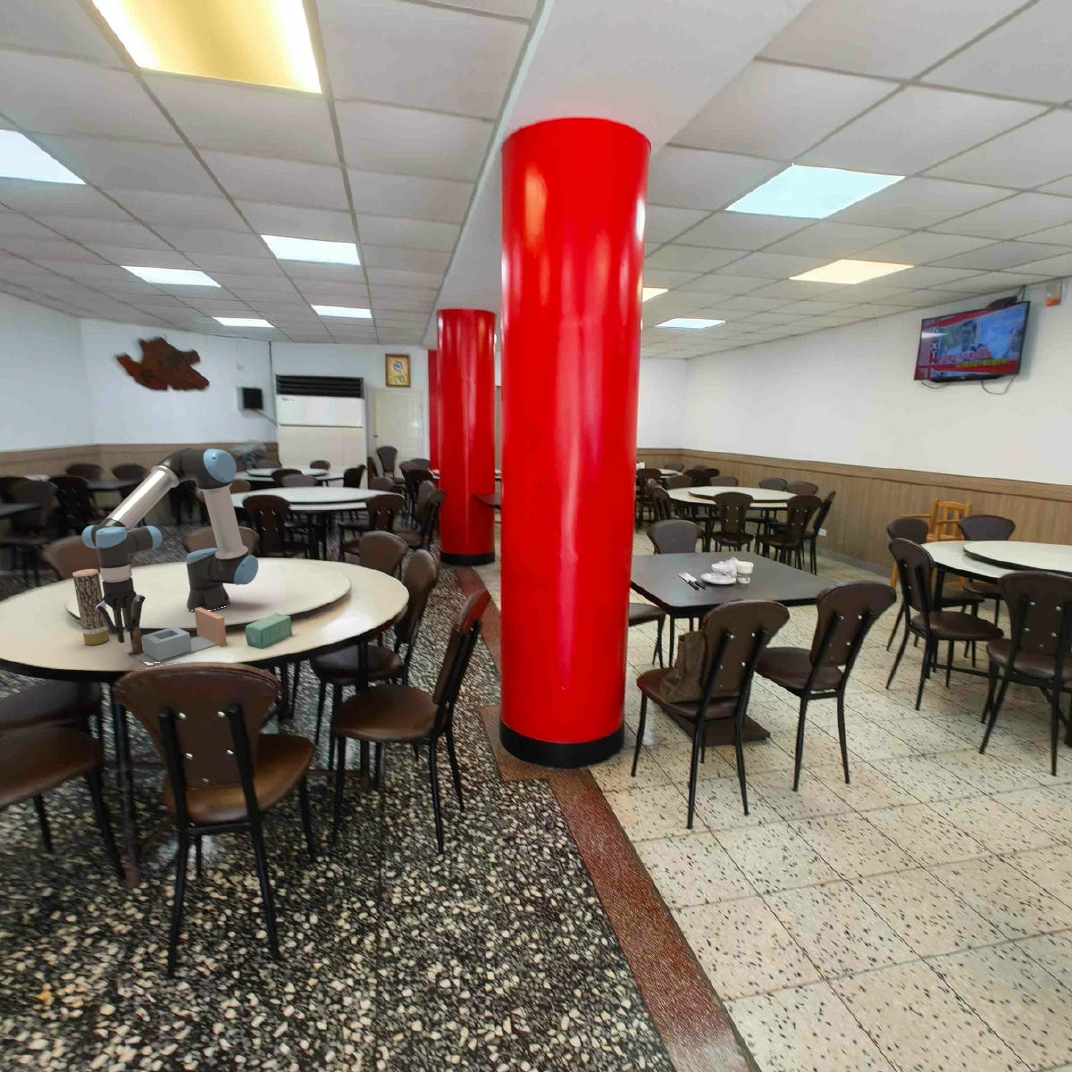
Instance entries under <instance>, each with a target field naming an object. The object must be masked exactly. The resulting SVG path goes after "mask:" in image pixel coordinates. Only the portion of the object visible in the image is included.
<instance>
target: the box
mask: <svg viewBox="0 0 1072 1072" xmlns="http://www.w3.org/2000/svg"><path fill="white" fill-rule="evenodd" d="M244 629H245V639H246V644H247V646H250V647H254V648H259V649H265V648H267V647H270V646H272V645H274V644H276V643H279V642H280V641H282V640H285V639H286V638H288V637H290V636H292V635H293V631H292V629H293V628H292V621H291V616H290V615H285V614H282V613H278V612H275V613H273V614H271V615H268V616H266V617H265V616H264V617H263V618H261V619H259V620H256V621H254V622H251V623H249V624H247V625H246V626H245V628H244Z"/></svg>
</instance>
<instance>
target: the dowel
mask: <svg viewBox="0 0 1072 1072" xmlns="http://www.w3.org/2000/svg"><path fill="white" fill-rule="evenodd" d="M134 604H135V600H133V602H132V603H131V617H132V618H133V611H134ZM121 615H122V621H123V627H124V630H126V628H125V621H124V614H123V609H122V608H121ZM140 625H141V624H140ZM140 625H139V627H136V628H134V631H133V635H134V640H131V646H132V652H129V653H128V655H129V656H134V657H135V656H138V655H141V654H144V645H143V638H142V632H141V627H140Z"/></svg>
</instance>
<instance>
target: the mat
mask: <svg viewBox="0 0 1072 1072" xmlns="http://www.w3.org/2000/svg"><path fill="white" fill-rule="evenodd" d="M190 640H191V648H192V650H191V651H188V652H185V653H182V654H179V655H176V656H173V657H170V658H167V659H164V660H161V661H158V660H156V659H154V658H153V657H151V656H149V655H148V654H146V653H145V652H143V653H142V654H139V655H134V657H133V659H135V660H136V661H138V662H140V663H142V662H149V663H153V665H149V666H147V667H148V668H151V667H150V666H152V667H155V666H157V665H160V664H164V663H166V662H170V661H174V660H176V659H178V658H182V657H185V656H188V655H191V654H194V653H197V652H201V651H202V650H203V651H204V650H207V649H210V648H212V647H215V646H218V645H217V644H216V643H214V642H212V641H210V640H208V639H206V638H204V637H202V636H196V637H193V638H190ZM154 662H160V663H154ZM154 665H155V666H154Z"/></svg>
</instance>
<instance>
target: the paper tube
mask: <svg viewBox="0 0 1072 1072" xmlns="http://www.w3.org/2000/svg"><path fill="white" fill-rule="evenodd" d="M99 572H100V571H99V570H98V569H96V568H95V569H94V568H89V569H88V568H87V569H80V570H77V571H74V572H72V577H73V583H74V589H75V595H76V601H77V606H78V607H77V608H78V612H79V618H80V622H81V629H82V635H83V640H84V643H85V644H86V645H88V646H95V645H100V644H103V643H106V642H107V641H109V639H110V634H109V630H108V628H107V626H106V624H105V622H104V620H103V617H102V615H101V613H100V611H98V610H97V609H96V608H95V605H97V604H98V605H99V604H100V603H101V602H102V601H103V597H104V595H103V592H102V591H103V589H102V583H101V578H100V573H99Z"/></svg>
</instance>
